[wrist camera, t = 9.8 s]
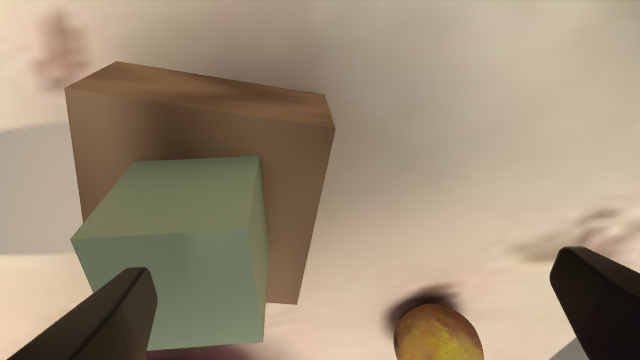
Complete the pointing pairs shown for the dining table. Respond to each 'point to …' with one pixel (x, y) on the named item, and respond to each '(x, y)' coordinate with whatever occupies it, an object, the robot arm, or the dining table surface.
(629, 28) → the dining table surface
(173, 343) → the sage cube
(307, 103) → the walnut block
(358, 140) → the dining table surface
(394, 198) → the dining table surface
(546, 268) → the dining table surface
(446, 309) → the fruit
